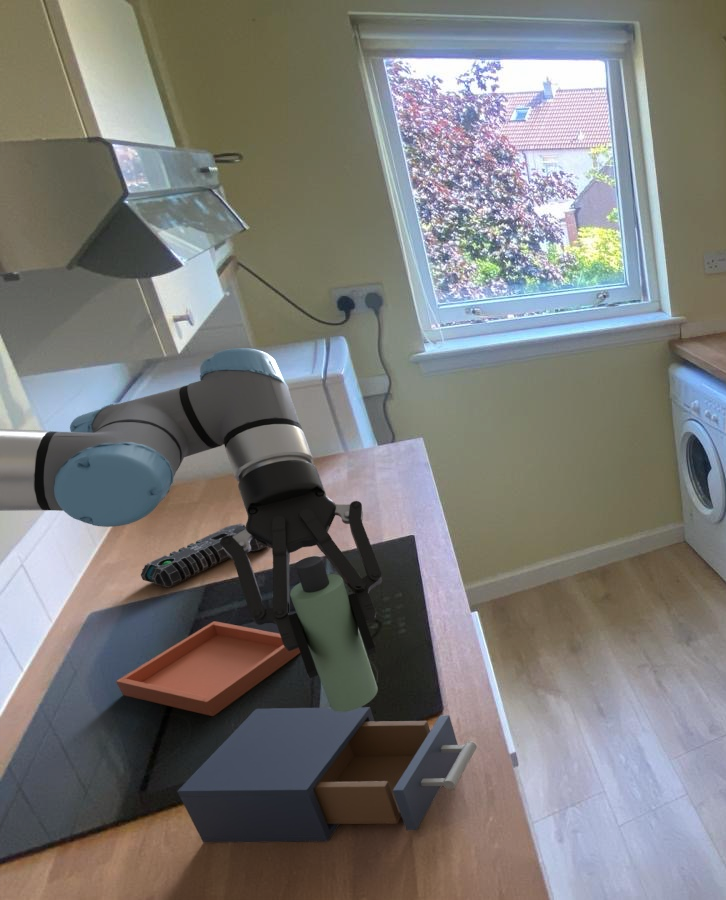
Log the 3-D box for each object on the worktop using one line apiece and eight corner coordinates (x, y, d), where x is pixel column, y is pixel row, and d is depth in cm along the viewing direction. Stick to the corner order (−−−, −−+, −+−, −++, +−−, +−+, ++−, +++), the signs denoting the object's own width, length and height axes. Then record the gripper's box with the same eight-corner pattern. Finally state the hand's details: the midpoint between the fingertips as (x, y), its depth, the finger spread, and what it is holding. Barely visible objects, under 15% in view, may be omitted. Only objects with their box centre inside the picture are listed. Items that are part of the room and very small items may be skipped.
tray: (122, 695, 107) (115, 681, 106) (219, 634, 120) (213, 620, 119) (213, 716, 102) (206, 702, 101) (303, 650, 115) (298, 637, 114)
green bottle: (320, 704, 82) (270, 568, 75) (360, 677, 86) (316, 546, 79) (347, 717, 81) (299, 579, 73) (387, 689, 84) (344, 555, 77)
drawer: (491, 752, 94) (481, 714, 91) (452, 830, 83) (439, 790, 81) (356, 753, 94) (343, 716, 92) (300, 831, 84) (283, 791, 81)
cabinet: (386, 755, 95) (370, 707, 92) (327, 841, 84) (306, 789, 80) (276, 756, 95) (255, 708, 92) (202, 842, 84) (176, 791, 81)
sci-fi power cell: (273, 525, 145) (240, 517, 148) (166, 576, 129) (132, 566, 132) (280, 543, 146) (248, 535, 150) (175, 596, 130) (142, 585, 134)
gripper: (365, 465, 91) (430, 636, 86) (186, 510, 81) (247, 707, 76) (363, 438, 85) (433, 620, 80) (169, 483, 75) (234, 695, 70)
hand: (342, 662), depth 78 cm, fingers closed on green bottle, 5 cm apart
